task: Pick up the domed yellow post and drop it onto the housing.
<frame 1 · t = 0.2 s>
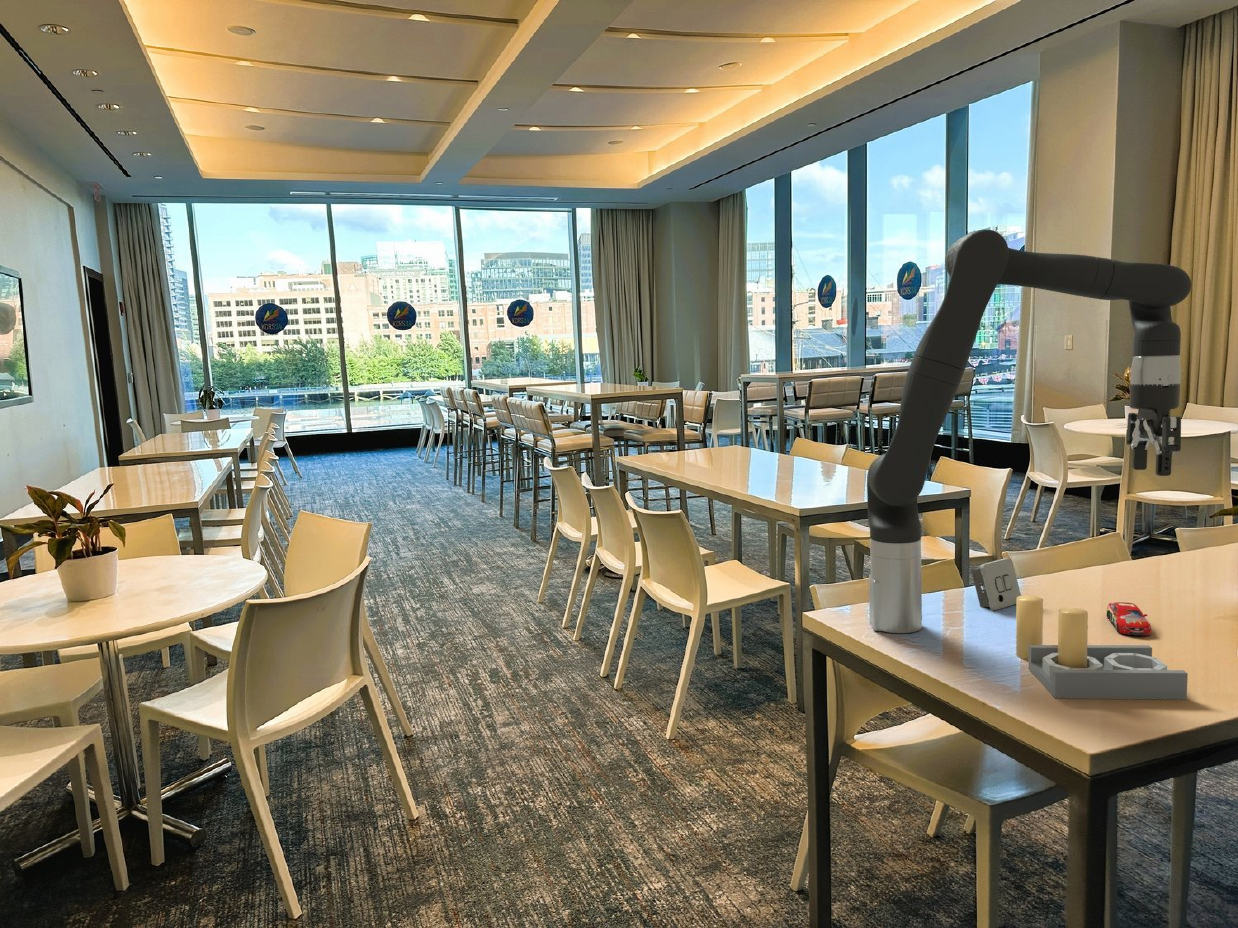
hand: (1150, 472, 151), 28 cm above the table, tool pointing down, fingers open, 8 cm apart
electrical switch: (996, 605, 171), on the table
domed yellow post: (1029, 655, 142), on the table
housing: (1103, 683, 129), on the table
race car: (1127, 628, 155), on the table
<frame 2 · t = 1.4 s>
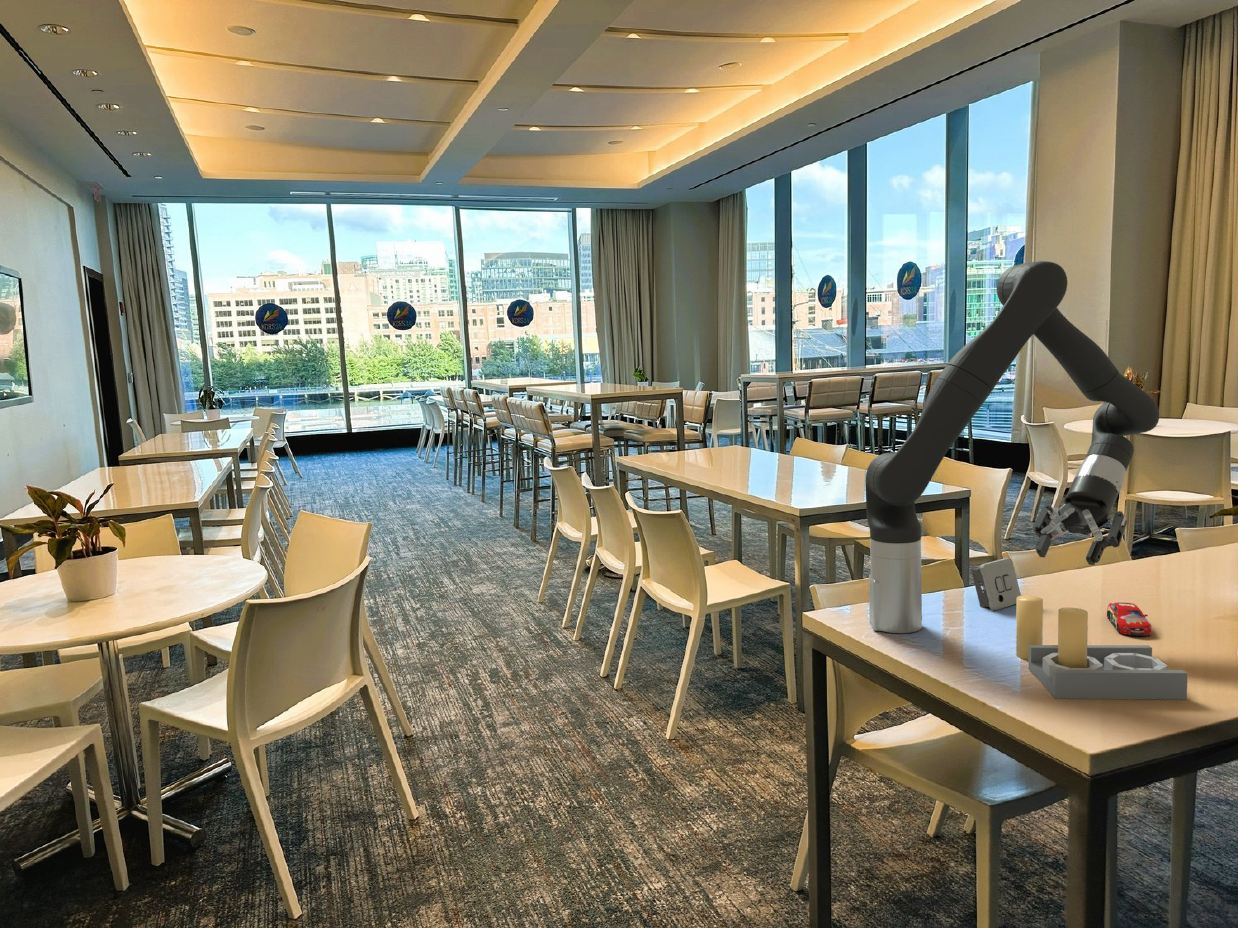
hand: (1064, 558, 147), 15 cm above the table, tool tilted 45°, fingers open, 8 cm apart
nothing on the table moved.
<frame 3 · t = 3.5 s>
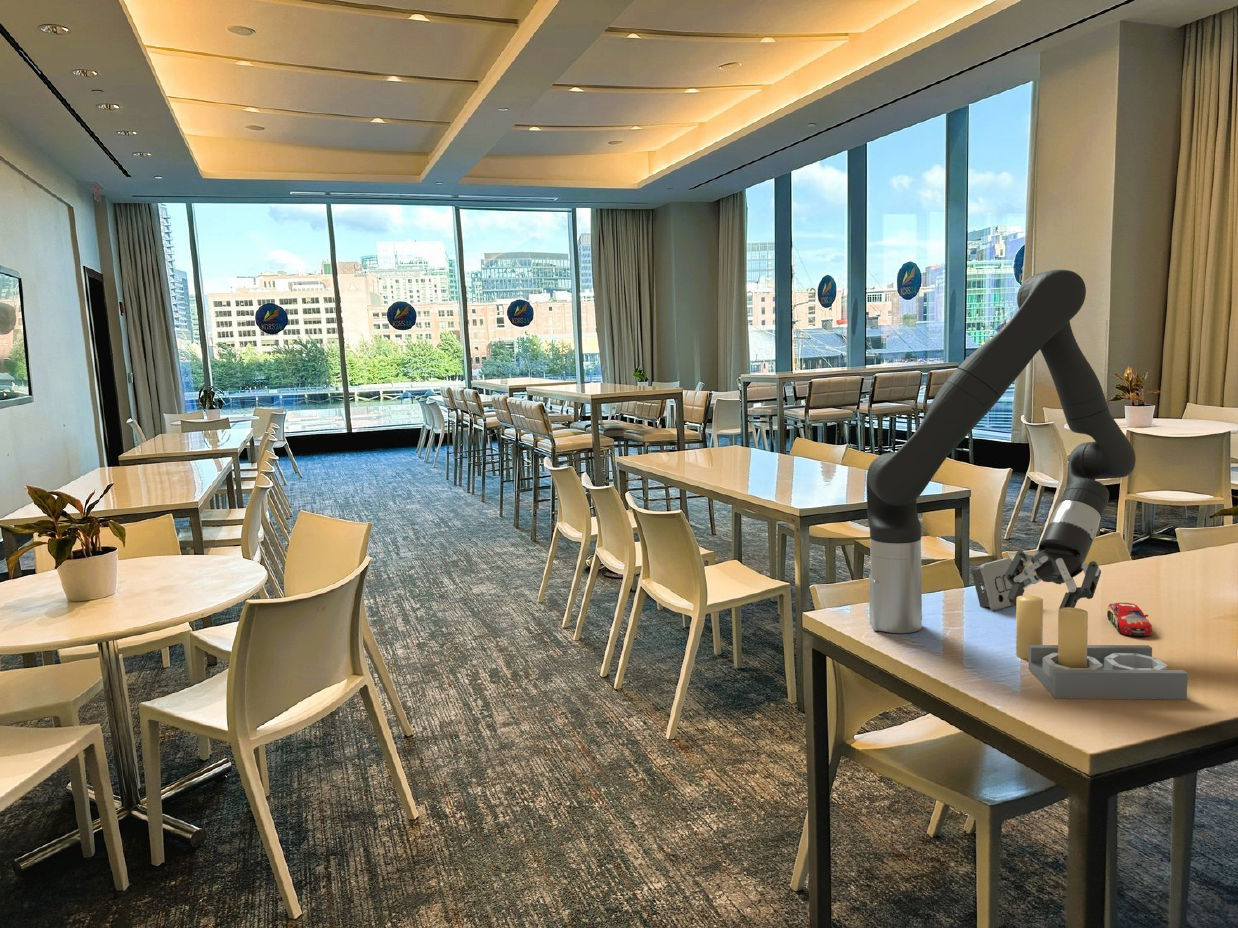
hand: (1037, 609, 143), 8 cm above the table, tool tilted 45°, fingers open, 8 cm apart
nothing on the table moved.
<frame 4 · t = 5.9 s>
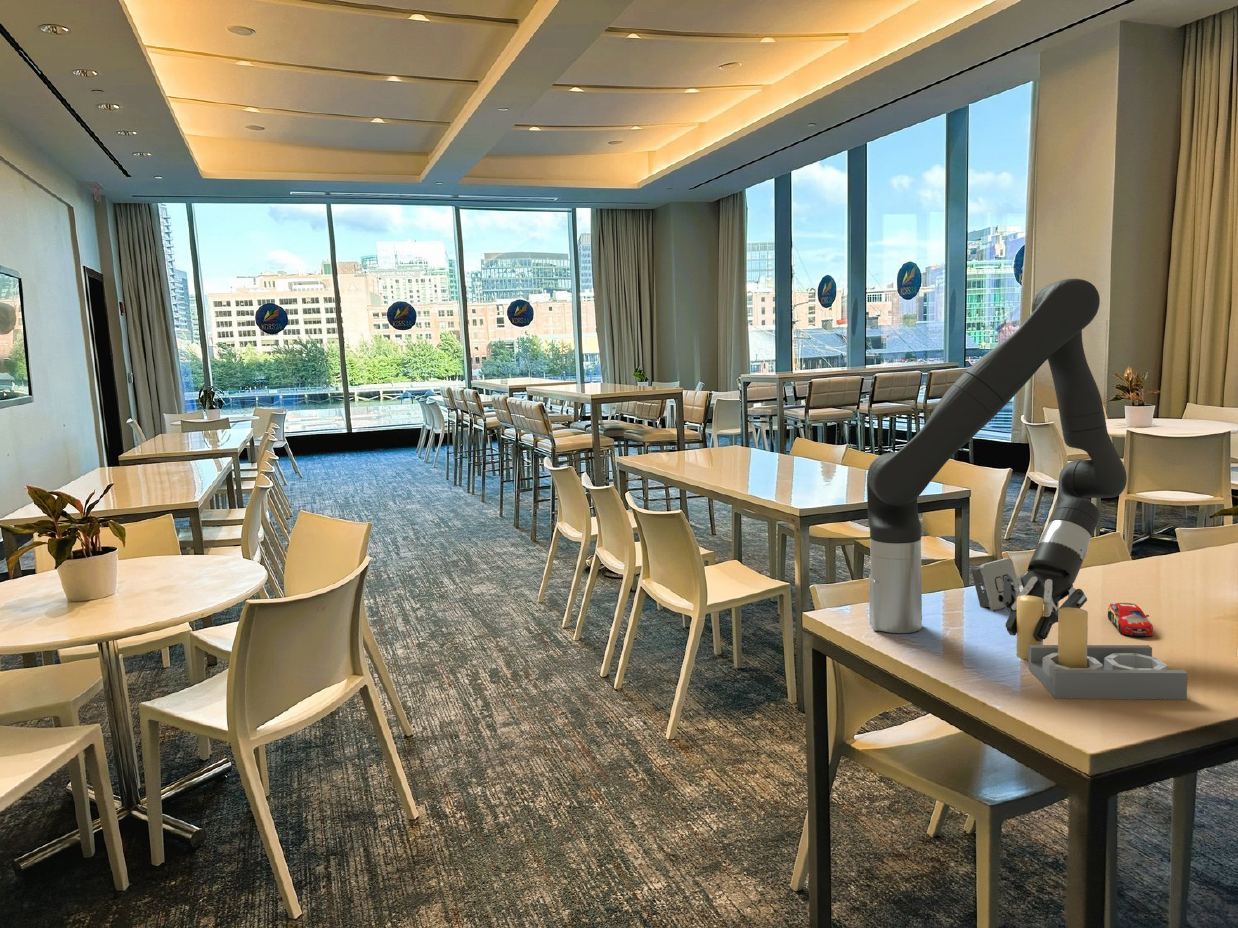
hand: (1023, 635, 141), 4 cm above the table, tool tilted 45°, fingers closed on domed yellow post, 4 cm apart
domed yellow post: (1029, 655, 142), on the table, touching gripper
everything else where it was.
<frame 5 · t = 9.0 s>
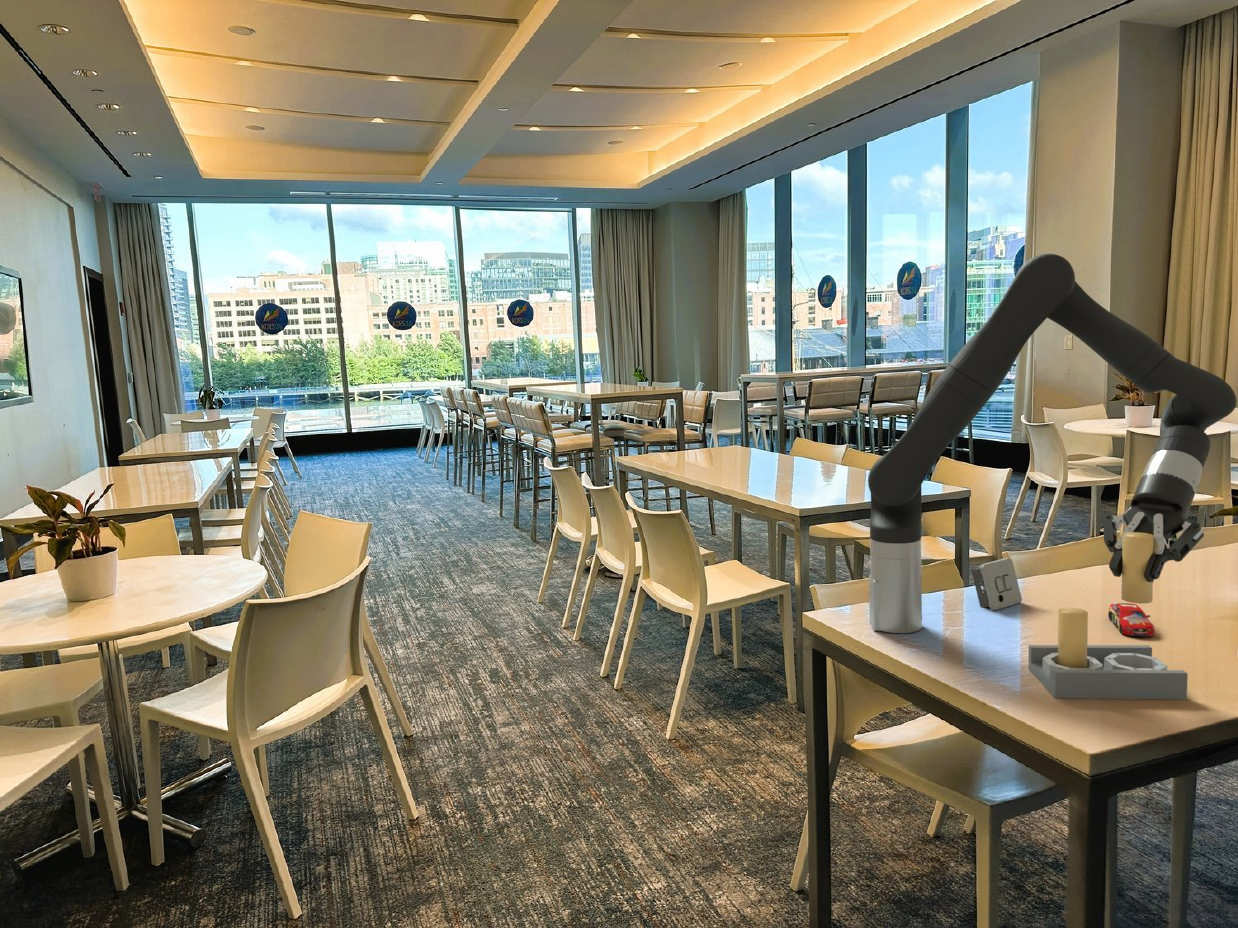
hand: (1131, 576, 126), 17 cm above the table, tool tilted 45°, fingers closed on domed yellow post, 4 cm apart
domed yellow post: (1136, 599, 127), point 13 cm above the table, touching gripper
everything else where it was.
when the fingers open (7 cm above the table, at t = 12.1 s): domed yellow post drops 1 cm, resting on housing.
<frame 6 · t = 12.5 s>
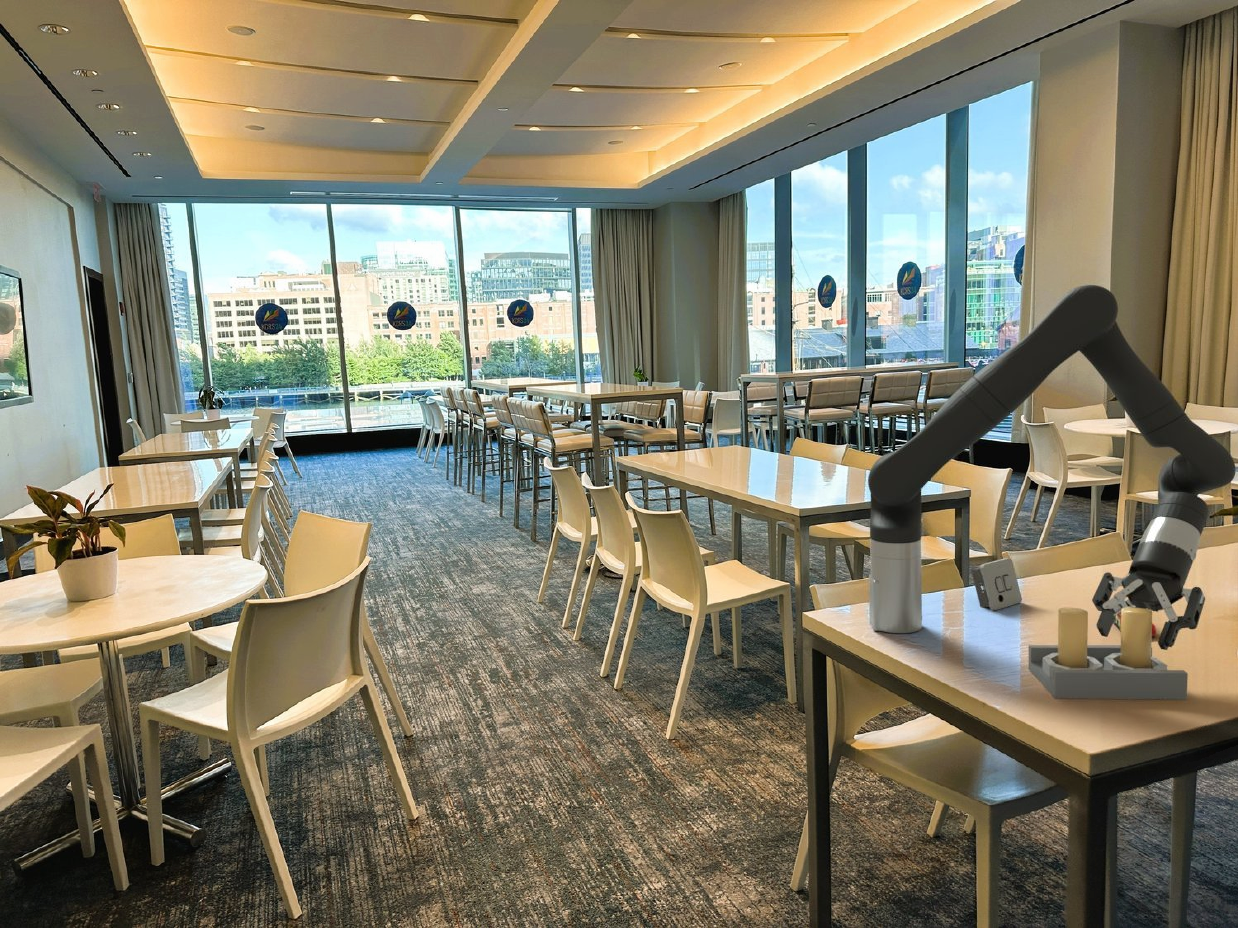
hand: (1131, 640, 127), 7 cm above the table, tool tilted 45°, fingers open, 8 cm apart
domed yellow post: (1135, 673, 129), point 2 cm above the table, touching housing
everything else where it was.
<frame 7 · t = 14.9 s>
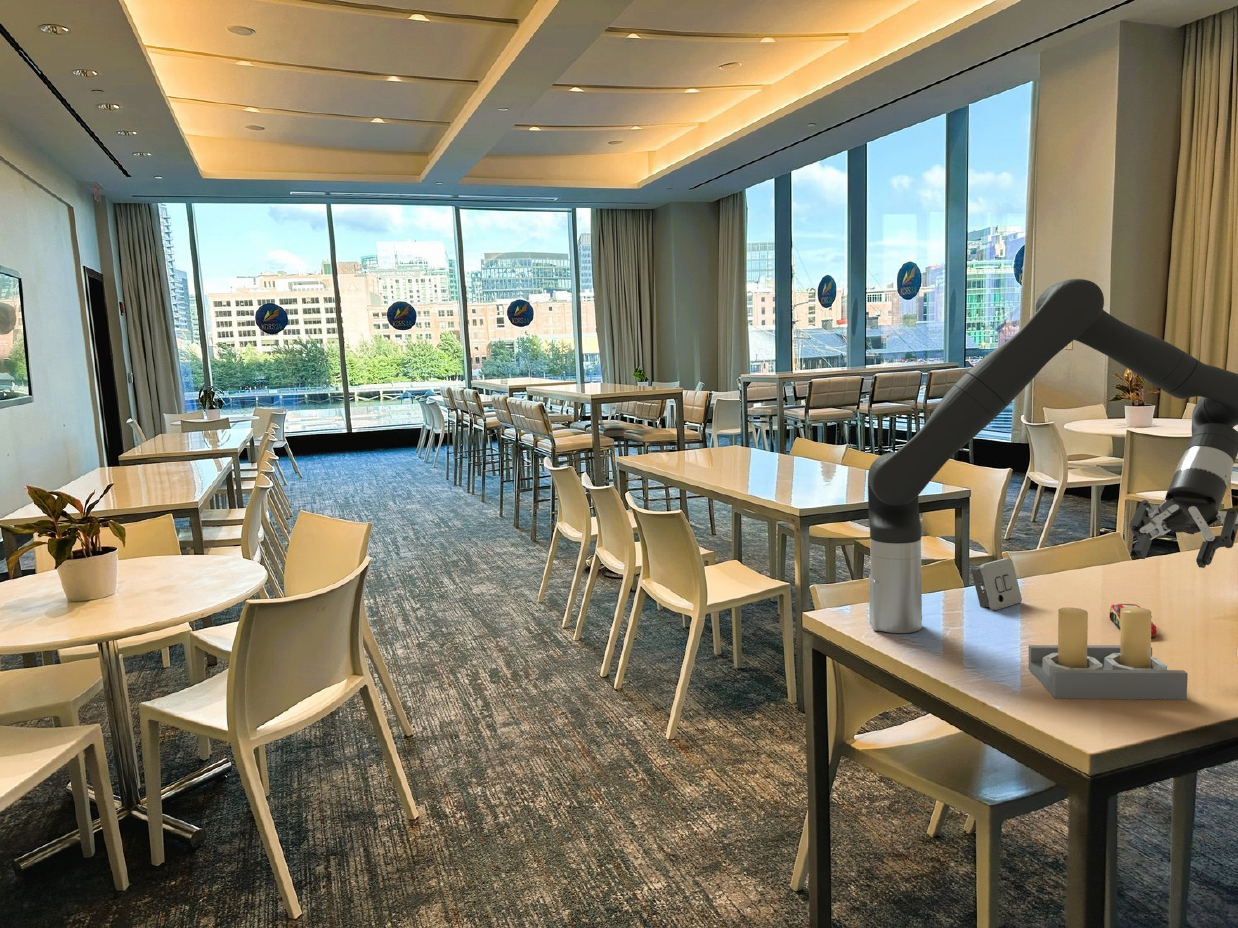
hand: (1169, 560, 133), 17 cm above the table, tool tilted 45°, fingers open, 8 cm apart
nothing on the table moved.
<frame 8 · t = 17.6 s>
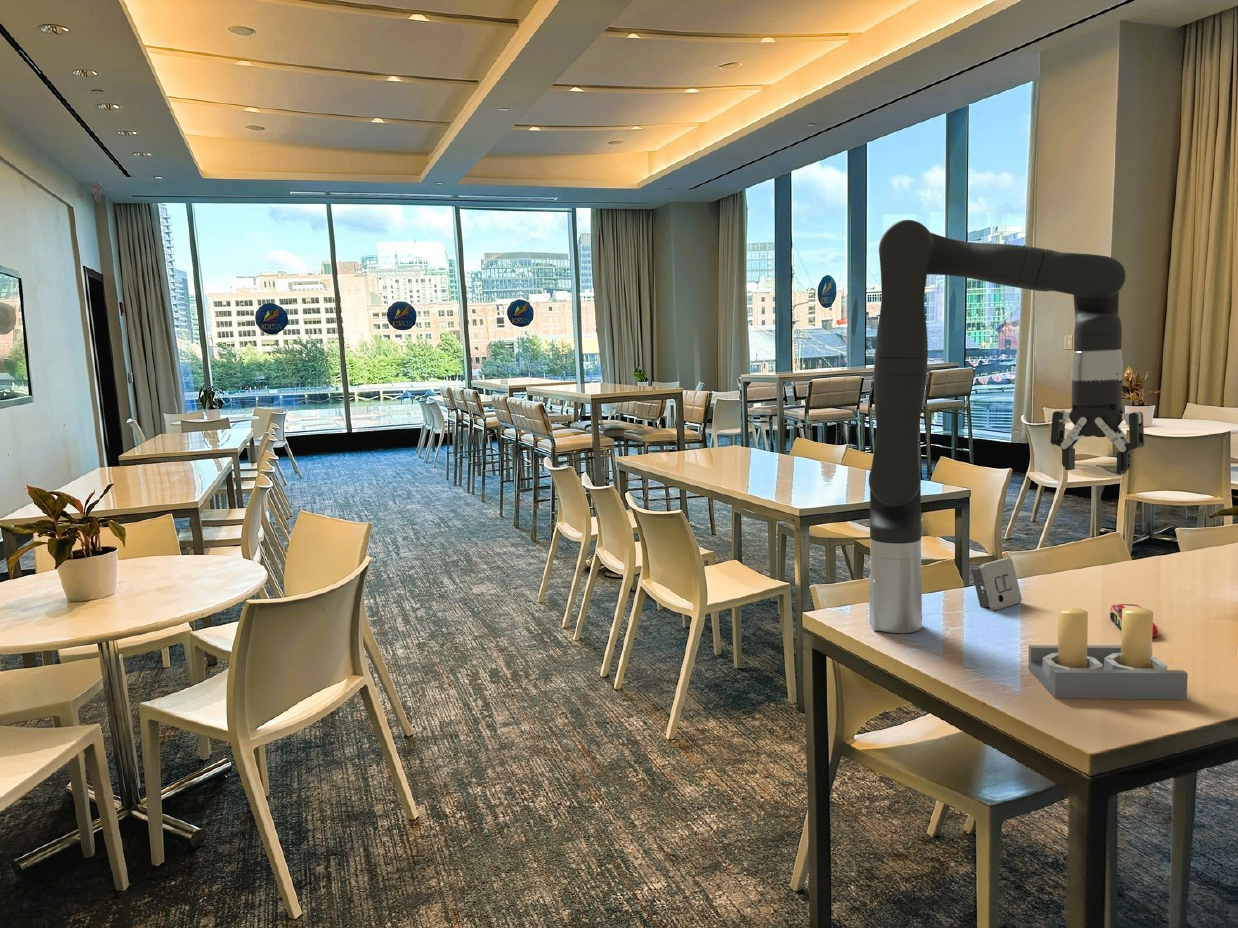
hand: (1095, 471, 145), 30 cm above the table, tool pointing down, fingers open, 8 cm apart
at the end: domed yellow post 0.1 cm from the target spot on the housing, point 1.6 cm above the housing's base; domed yellow post tilted 2°; the gripper is holding nothing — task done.
